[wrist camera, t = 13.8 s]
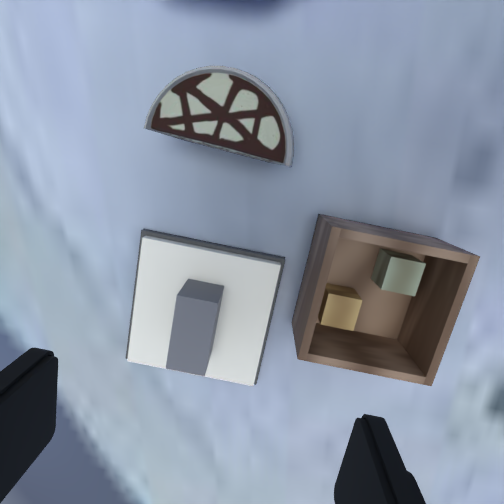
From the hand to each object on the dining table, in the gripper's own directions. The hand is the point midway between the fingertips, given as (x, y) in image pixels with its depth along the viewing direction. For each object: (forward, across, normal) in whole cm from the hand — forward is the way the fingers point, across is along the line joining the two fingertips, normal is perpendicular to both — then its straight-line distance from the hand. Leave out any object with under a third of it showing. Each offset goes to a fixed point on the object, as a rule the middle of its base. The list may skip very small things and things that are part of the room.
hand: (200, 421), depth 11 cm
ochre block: (+28, -10, +6) cm, 31 cm away
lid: (+28, +4, +10) cm, 30 cm away
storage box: (+29, -13, +3) cm, 32 cm away
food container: (+29, +4, -11) cm, 31 cm away
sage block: (+28, -15, +1) cm, 32 cm away
